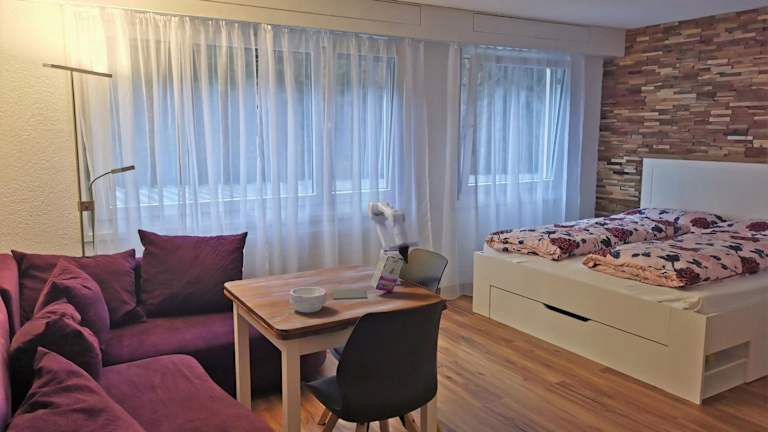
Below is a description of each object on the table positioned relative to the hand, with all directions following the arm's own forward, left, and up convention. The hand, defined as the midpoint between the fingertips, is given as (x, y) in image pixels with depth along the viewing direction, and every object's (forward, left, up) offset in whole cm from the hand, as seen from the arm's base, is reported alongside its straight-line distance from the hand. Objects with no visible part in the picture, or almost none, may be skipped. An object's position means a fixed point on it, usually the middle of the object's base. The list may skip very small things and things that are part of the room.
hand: (406, 263), depth 269 cm
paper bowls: (+19, -44, -14) cm, 50 cm away
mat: (-1, -26, -14) cm, 30 cm away
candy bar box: (-1, -12, -12) cm, 17 cm away
